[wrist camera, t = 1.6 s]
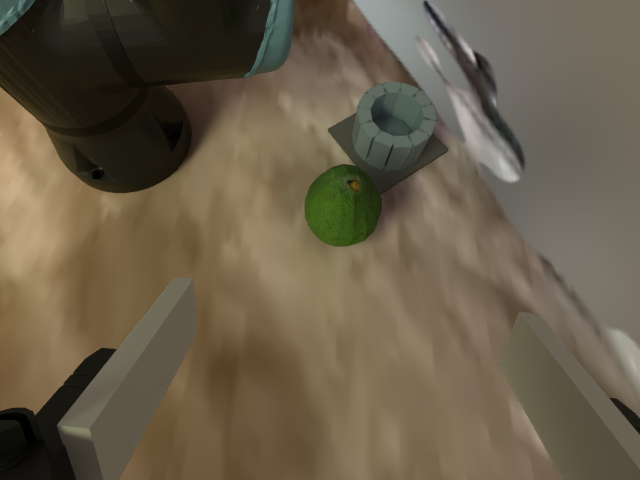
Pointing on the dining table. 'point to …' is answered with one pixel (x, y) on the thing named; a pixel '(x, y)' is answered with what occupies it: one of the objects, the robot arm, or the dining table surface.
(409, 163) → the bowl
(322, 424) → the dining table surface
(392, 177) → the placemat
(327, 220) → the avocado
